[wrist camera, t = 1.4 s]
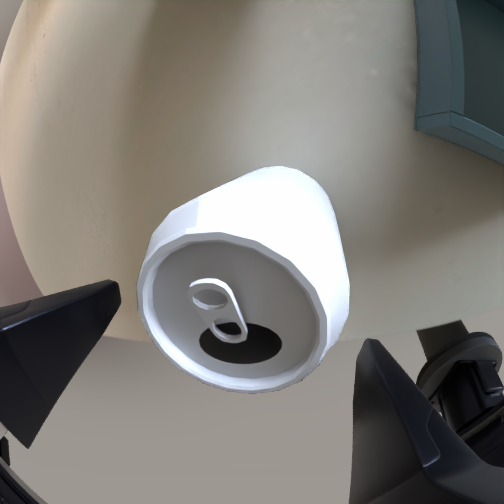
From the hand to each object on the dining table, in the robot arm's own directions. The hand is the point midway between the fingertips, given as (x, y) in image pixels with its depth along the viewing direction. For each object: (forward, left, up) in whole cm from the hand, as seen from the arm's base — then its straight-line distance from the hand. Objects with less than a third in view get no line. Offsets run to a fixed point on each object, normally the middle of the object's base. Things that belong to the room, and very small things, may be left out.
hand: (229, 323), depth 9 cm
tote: (+16, -16, -11) cm, 25 cm away
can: (0, 0, -11) cm, 11 cm away
